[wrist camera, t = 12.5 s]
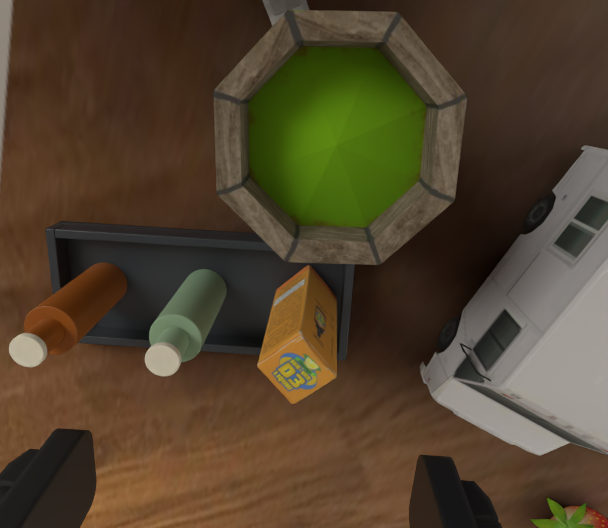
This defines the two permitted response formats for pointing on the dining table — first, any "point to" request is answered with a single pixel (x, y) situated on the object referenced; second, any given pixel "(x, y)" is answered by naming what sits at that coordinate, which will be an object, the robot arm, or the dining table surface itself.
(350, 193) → the mug
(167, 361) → the sage bottle
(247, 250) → the tray
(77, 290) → the amber bottle
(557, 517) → the fruit
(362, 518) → the dining table surface
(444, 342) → the toy truck
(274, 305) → the supplement box
